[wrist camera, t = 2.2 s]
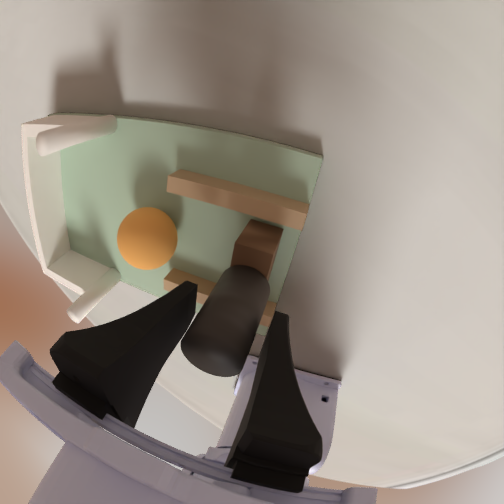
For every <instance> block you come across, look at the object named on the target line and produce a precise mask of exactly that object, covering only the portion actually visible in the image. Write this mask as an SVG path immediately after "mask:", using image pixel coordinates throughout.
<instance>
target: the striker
mask: <svg viewBox="0 0 504 504" xmlns="http://www.w3.org/2000/svg"><path fill="white" fill-rule="evenodd" d="M283 230H284V229H282V228H279V227H276V226H273V225H269V224H266V223H263V222H260V221H256V220H253V219H250V221H249V222H248V224H247V225H246V227H245V228H244V230H243V231H242V233H241V234H240V236H239V237H238V238H237V240H236V241H235V244H234V249H233V254H232V260H231V265H230V267H229V268H227V269H226V270H225V271H224V272H223V274H222V275H221V277H220V278H219V280H218V282H217V283H216V285H215V287H214V288H213V290H212V291H211V293H210V295H209V296H208V298H207V299H206V301H205V303H204V304H203V306H202V308H201V309H200V311H199V312H198V314H197V316H196V317H195V319H194V321H193V322H192V324H191V325H190V327H189V329H188V330H187V332H186V334H185V335H184V337H183V339H182V340H181V350H182V352H183V354H184V356H185V357H186V358H187V359H188V360H189V361H190V362H191V363H192V364H193V365H194V366H196V367H197V368H199V369H200V370H202V371H204V372H206V373H209V374H212V375H215V376H221V377H231V376H235V375H237V374H239V373H240V372H241V371H242V369H243V367H244V364H245V362H246V359H247V356H248V354H249V351H250V348H251V346H252V343H253V340H254V337H255V335H256V332H257V329H258V326H259V324H260V321H261V318H262V315H263V312H264V310H265V307H266V304H267V301H268V298H269V295H270V285H269V282H268V281H269V278H270V274H271V271H272V267H273V264H274V261H275V257H276V254H277V250H278V247H279V244H280V240H281V237H282V233H283Z"/></svg>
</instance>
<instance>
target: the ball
mask: <svg viewBox="0 0 504 504" xmlns="http://www.w3.org/2000/svg"><path fill="white" fill-rule="evenodd" d="M177 242H178V235H177V230H176V226H175V224H174V222H173V221H172V219H171V218H170V217H169V216H168V215H167V214H166V213H165V212H163V211H161V210H159V209H157V208H153V207H142V208H139V209H136V210H134V211H132V212H130V213H129V214H128V215H127V216H126V217H125V218H124V219H123V221H122V222H121V224H120V226H119V229H118V233H117V245H118V249H119V251H120V254H121V255H122V257H123V258H124V259H125V261H126V262H128V263H129V264H130V265H132V266H133V267H135V268H138V269H142V270H152V269H156V268H159V267H161V266H163V265H164V264H166V263H167V262H168V261H169V260H170V259H171V257H172V256H173V254H174V252H175V250H176V247H177Z"/></svg>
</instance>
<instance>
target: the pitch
mask: <svg viewBox="0 0 504 504" xmlns="http://www.w3.org/2000/svg"><path fill="white" fill-rule="evenodd" d="M21 133H22V156H23V169H24V179H25V187H26V195H27V201H28V208H29V214H30V219H31V224H32V229H33V234H34V238H35V243H36V247H37V251H38V255H39V259H40V263H41V266H42V270H43V273H44V274H46V275H47V276H49V277H51V278H52V279H54V280H56V281H57V282H59V283H60V284H62V285H64V286H66V287H67V288H69V289H71V290H72V291H74V292H76V293H78V294H79V295H81V296H80V297H79V298H78V299H77V300H76V301H75V302H74V303H73V304H72V305H71V306H70V307H69V308H68V309H67V313H68V315H69V317H70V318H71V319H72V320H73V321H74V322H76V323H79V322H80V321H81V320H82V319H83V318H84V317H85V316H86V315H87V314H88V313H89V312H90V311H91V310H92V309H93V307H94V306H95V305H96V304H97V303H98V302H99V301H100V300H101V299H102V298H103V297H104V296H105V295H106V294H107V293H108V292H109V291H110V290H111V289H112V288H113V287H114V286H115V285H116V284H117V283H118V282H119V281H122V282H124V283H127V284H129V285H131V286H134V287H136V288H138V289H140V290H143V291H145V292H147V293H150V294H152V295H155V296H157V297H159V298H160V297H162V296H163V295H165V294H167V293H168V292H170V291H171V290H173V289H174V288H176V287H177V286H179V285H180V284H181V283H183V282H184V281H190V282H192V283H195V284H198V289H197V299H196V311H195V312H197V313H198V312H199V311H200V309H201V308H202V306H203V304H204V303H205V301H206V299H207V298H208V296H209V295H210V293H211V291H212V290H213V288H214V287H215V285H216V283H217V282H218V280H219V278H220V277H221V275H222V274H223V272H224V271H225V270H226V269H227V268H229V267H230V265H231V260H232V254H233V249H234V244H235V241H236V240H237V238H238V237H239V236H240V234H241V233H242V231H243V230H244V228H245V227H246V225H247V224H248V222H249V221H250V219H253V220H256V221H260V222H263V223H266V224H269V225H273V226H276V227H279V228H282V229H284V230H283V233H282V237H281V240H280V244H279V247H278V250H277V254H276V257H275V261H274V264H273V267H272V271H271V274H270V278H269V281H268V282H269V285H270V295H269V298H268V301H267V304H266V307H265V310H264V312H263V315H262V318H261V321H260V324H259V326H258V329H257V332H256V334H259V335H263V336H265V335H266V332H267V330H268V327H269V326H270V323H271V320H272V317H273V314H274V311H275V308H276V305H277V302H278V299H279V296H280V293H281V290H282V287H283V284H284V281H285V278H286V275H287V272H288V269H289V266H290V263H291V260H292V257H293V254H294V251H295V248H296V245H297V242H298V239H299V236H300V233H301V231H302V229H303V226H304V223H305V220H306V217H307V213H308V209H309V204H310V201H311V198H312V194H313V191H314V188H315V185H316V181H317V178H318V174H319V171H320V168H321V164H322V161H323V156H322V155H319V154H315V153H312V152H309V151H305V150H302V149H298V148H295V147H291V146H287V145H284V144H280V143H276V142H272V141H268V140H264V139H260V138H256V137H252V136H247V135H243V134H238V133H234V132H229V131H224V130H219V129H214V128H208V127H203V126H197V125H191V124H185V123H178V122H172V121H164V120H157V119H148V118H139V117H129V116H118V115H104V114H84V113H54V114H50V115H48V117H44V118H40V119H37V120H33V121H30V122H26V123H23V124H21ZM142 207H153V208H157V209H159V210H161V211H163V212H165V213H166V214H167V215H168V216H169V217H170V218H171V219H172V221H173V222H174V224H175V226H176V230H177V235H178V242H177V247H176V250H175V252H174V254H173V256H172V257H171V259H170V260H169V261H168V262H167V263H166V264H164V265H163V266H161V267H159V268H156V269H152V270H142V269H138V268H135V267H133V266H132V265H130V264H129V263H128V262H126V261H125V259H124V258H123V257H122V255H121V254H120V251H119V249H118V245H117V233H118V229H119V226H120V224H121V222H122V221H123V219H124V218H125V217H126V216H127V215H128V214H129V213H130V212H132V211H134V210H136V209H139V208H142Z"/></svg>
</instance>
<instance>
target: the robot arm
mask: <svg viewBox="0 0 504 504" xmlns="http://www.w3.org/2000/svg"><path fill="white" fill-rule="evenodd" d="M197 289H198V284H195V283H192V282H190V281H184V282H183V283H181V284H180V285H179V286H177V287H176V288H174V289H173V290H171V291H170V292H168V293H167V294H165V295H163V296H162V297H160V298H159V299H157V300H155V301H154V302H152V303H150V304H149V305H147V306H145V307H143V308H141V309H139V310H137V311H135V312H133V313H131V314H129V315H127V316H125V317H122V318H120V319H117V320H114V321H112V322H109V323H106V324H103V325H99V326H95V327H91V328H87V329H82V330H76V331H70V332H66V333H64V334H63V335H62V336H61V337H60V338H59V340H58V341H57V342H56V343H55V344H54V345H53V346H52V348H51V349H50V355H51V357H52V359H53V360H54V362H55V364H56V366H57V368H58V369H59V371H60V372H59V374H58V375H57V376H56V377H55V378H54V377H53V376H52V375H51V374H49V373H48V372H47V371H46V370H44V369H43V368H42V367H41V366H39V365H38V364H37V363H36V362H35V361H34V359H33V357H32V356H31V354H30V353H29V352H28V351H27V350H26V349H25V348H24V347H23V346H22V345H21V344H20V343H19V342H18V341H16V340H15V341H14V342H13V343H12V344H11V345H10V346H9V347H8V349H7V350H6V351H5V352H4V353H3V354H2V355H1V356H0V382H1V383H2V384H3V386H4V387H5V388H6V389H7V390H8V391H9V392H10V393H11V395H12V396H13V397H15V399H16V400H18V402H19V403H20V404H22V405H23V406H24V407H25V408H26V409H27V410H28V411H29V412H30V413H31V414H32V415H33V416H34V417H35V418H37V419H38V420H39V421H40V422H41V423H42V424H43V425H45V426H46V427H47V428H48V429H49V430H51V431H52V432H53V433H54V434H55V435H57V436H58V437H59V438H60V439H62V440H63V441H64V442H66V443H65V444H64V446H63V447H62V449H61V450H60V452H59V453H58V455H57V457H56V458H55V460H54V462H53V463H52V465H51V466H50V468H49V469H48V471H47V473H46V474H45V476H44V478H43V479H42V481H41V483H40V484H39V486H38V488H37V489H36V491H35V493H34V495H33V496H32V498H31V500H30V501H29V503H28V504H376V497H377V488H365V487H351V488H347V489H345V490H334V489H325V488H317V487H310V486H308V484H309V479H308V478H307V476H308V474H314V473H316V472H317V471H318V470H319V469H320V468H321V467H322V465H323V464H324V462H325V460H326V458H327V455H328V453H329V450H330V447H331V443H332V437H333V430H334V422H335V414H336V405H337V395H338V389H339V388H340V387H341V382H340V381H339V380H335V379H331V378H327V377H323V376H319V375H315V374H311V373H308V372H304V371H300V370H297V369H294V365H293V361H292V355H291V348H290V340H289V316H288V315H287V314H284V313H280V312H277V311H275V313H274V316H273V319H272V321H271V324H270V327H269V330H268V332H267V335H266V338H265V341H264V344H263V347H262V350H261V353H260V355H259V358H257V357H254V356H251V355H248V356H247V359H246V362H245V364H244V367H243V369H242V371H241V372H240V375H239V378H238V381H237V384H236V387H235V390H234V395H235V396H236V398H235V400H234V403H233V405H232V408H231V411H230V413H229V416H228V418H227V421H226V424H225V426H224V429H223V431H222V434H221V436H220V439H219V441H218V444H217V446H216V448H213V447H209V448H208V451H207V453H206V454H199V455H197V456H193V455H191V454H188V453H186V452H183V451H181V450H178V449H176V448H174V447H171V446H169V445H167V444H165V443H162V442H160V441H158V440H156V439H154V438H152V437H150V436H148V435H146V434H144V433H142V432H140V431H138V430H136V429H134V427H135V425H136V422H137V420H138V417H139V415H140V413H141V410H142V408H143V406H144V403H145V401H146V399H147V397H148V394H149V392H150V390H151V388H152V386H153V384H154V382H155V380H156V378H157V376H158V374H159V372H160V370H161V368H162V367H163V365H164V363H165V362H166V360H167V359H168V357H169V356H170V354H171V353H172V351H173V350H174V348H175V347H176V345H177V344H178V342H179V341H180V339H181V338H182V336H183V335H184V334H185V332H186V330H187V329H188V327H189V325H190V323H191V321H192V319H193V317H194V315H195V311H196V299H197ZM100 426H101V427H100ZM103 428H104V429H105V430H107V431H109V432H111V433H112V434H114V435H116V436H117V437H116V436H114V435H112V434H111V433H109V432H107V431H105V430H104V429H103ZM118 437H119V438H121V439H123V440H125V441H126V442H124V441H122V440H121V439H119V438H118ZM127 442H128V443H130V444H132V445H134V446H136V447H138V448H140V449H141V450H140V449H138V448H136V447H134V446H132V445H130V444H128V443H127ZM142 450H143V451H142ZM144 451H145V452H144ZM146 452H148V453H150V454H152V455H154V456H156V457H158V458H160V459H162V460H165V461H167V462H169V463H172V464H174V465H176V466H179V467H181V468H183V470H182V471H181V470H179V469H177V468H175V467H173V466H171V465H170V464H168V463H166V462H164V461H162V460H160V459H158V458H156V457H154V456H152V455H150V454H147V453H146Z"/></svg>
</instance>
